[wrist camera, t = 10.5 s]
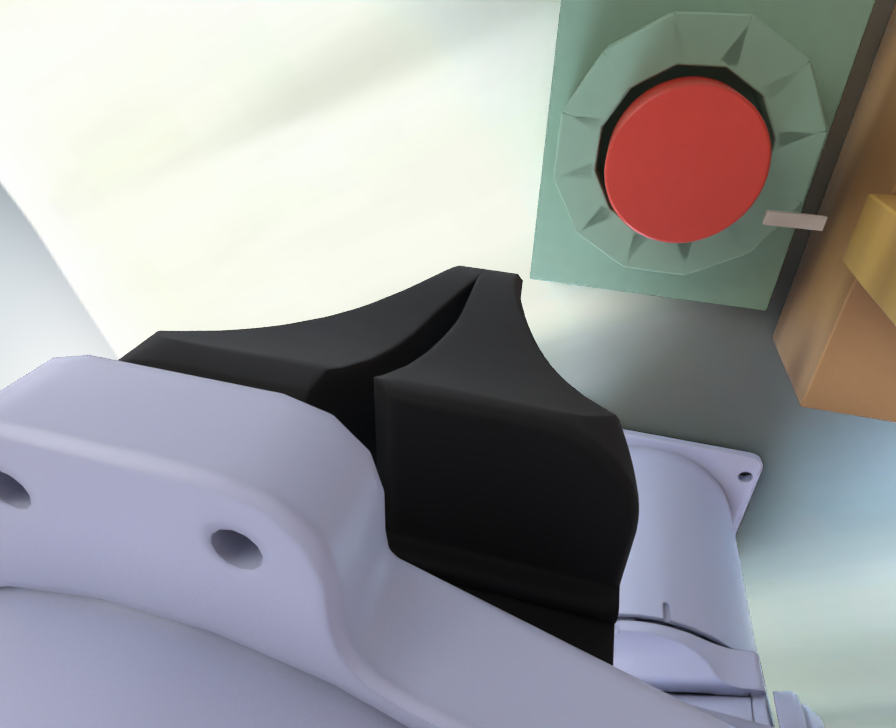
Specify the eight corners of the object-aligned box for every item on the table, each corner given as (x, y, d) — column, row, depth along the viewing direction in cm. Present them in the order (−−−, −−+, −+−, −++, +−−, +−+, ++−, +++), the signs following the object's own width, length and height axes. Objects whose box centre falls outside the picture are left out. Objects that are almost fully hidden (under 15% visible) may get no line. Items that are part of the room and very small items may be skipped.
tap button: (734, 230, 17) (744, 252, 16) (596, 215, 18) (592, 235, 16) (779, 80, 15) (795, 88, 14) (620, 71, 16) (619, 77, 14)
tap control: (760, 296, 21) (777, 336, 18) (534, 267, 22) (521, 299, 20) (879, -51, 15) (925, -63, 13) (571, -55, 17) (560, -66, 15)
